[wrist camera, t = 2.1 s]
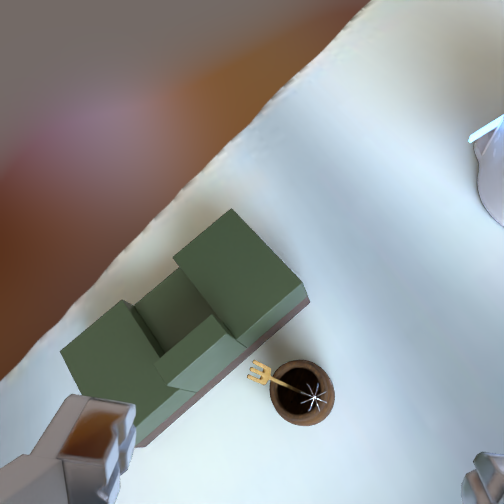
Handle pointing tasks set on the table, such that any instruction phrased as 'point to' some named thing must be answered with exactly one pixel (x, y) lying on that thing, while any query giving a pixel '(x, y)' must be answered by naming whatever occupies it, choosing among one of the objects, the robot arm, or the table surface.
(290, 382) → the utensil holder
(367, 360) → the table surface
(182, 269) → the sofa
